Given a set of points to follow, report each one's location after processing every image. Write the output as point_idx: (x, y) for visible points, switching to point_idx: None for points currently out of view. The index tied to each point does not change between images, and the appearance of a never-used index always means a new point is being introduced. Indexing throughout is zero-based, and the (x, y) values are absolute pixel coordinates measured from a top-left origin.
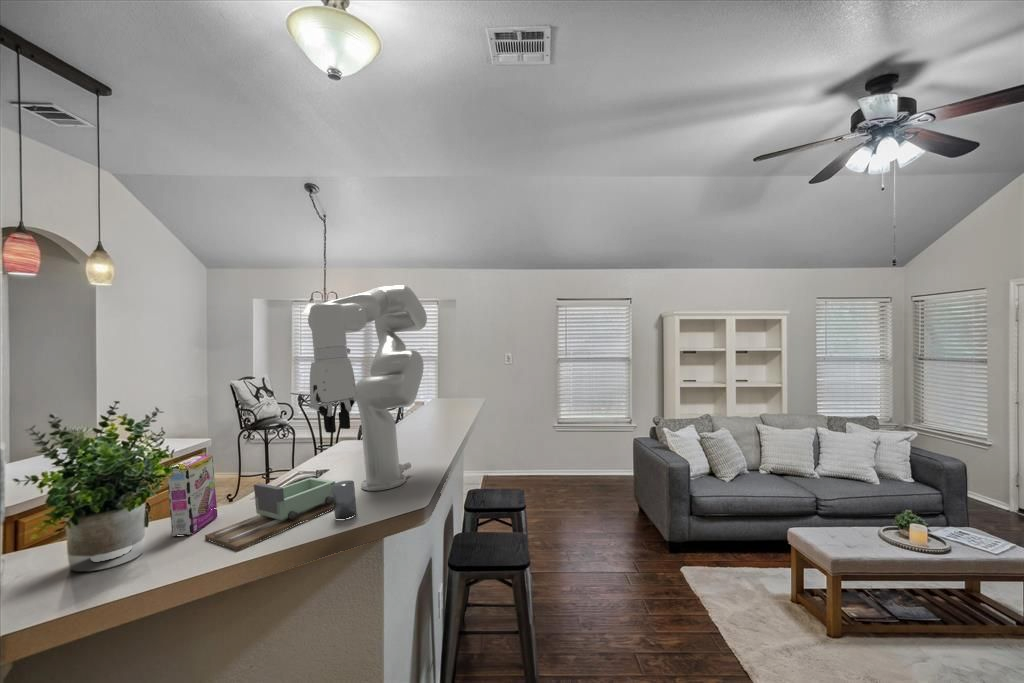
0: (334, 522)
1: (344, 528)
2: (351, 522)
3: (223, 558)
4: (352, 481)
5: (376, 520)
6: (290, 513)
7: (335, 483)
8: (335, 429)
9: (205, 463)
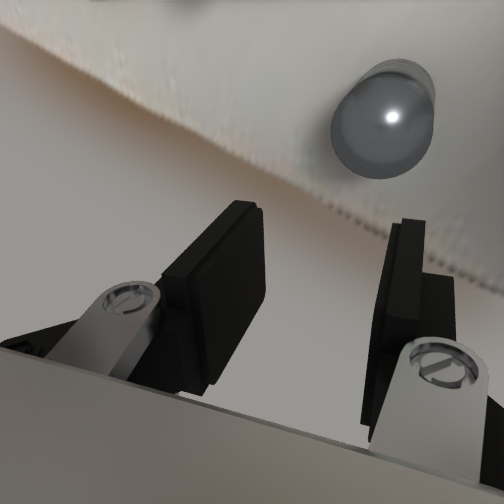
0: None
1: (317, 177)
2: None
3: (64, 5)
4: (421, 150)
5: None
6: None
7: (374, 85)
8: (256, 306)
9: None
